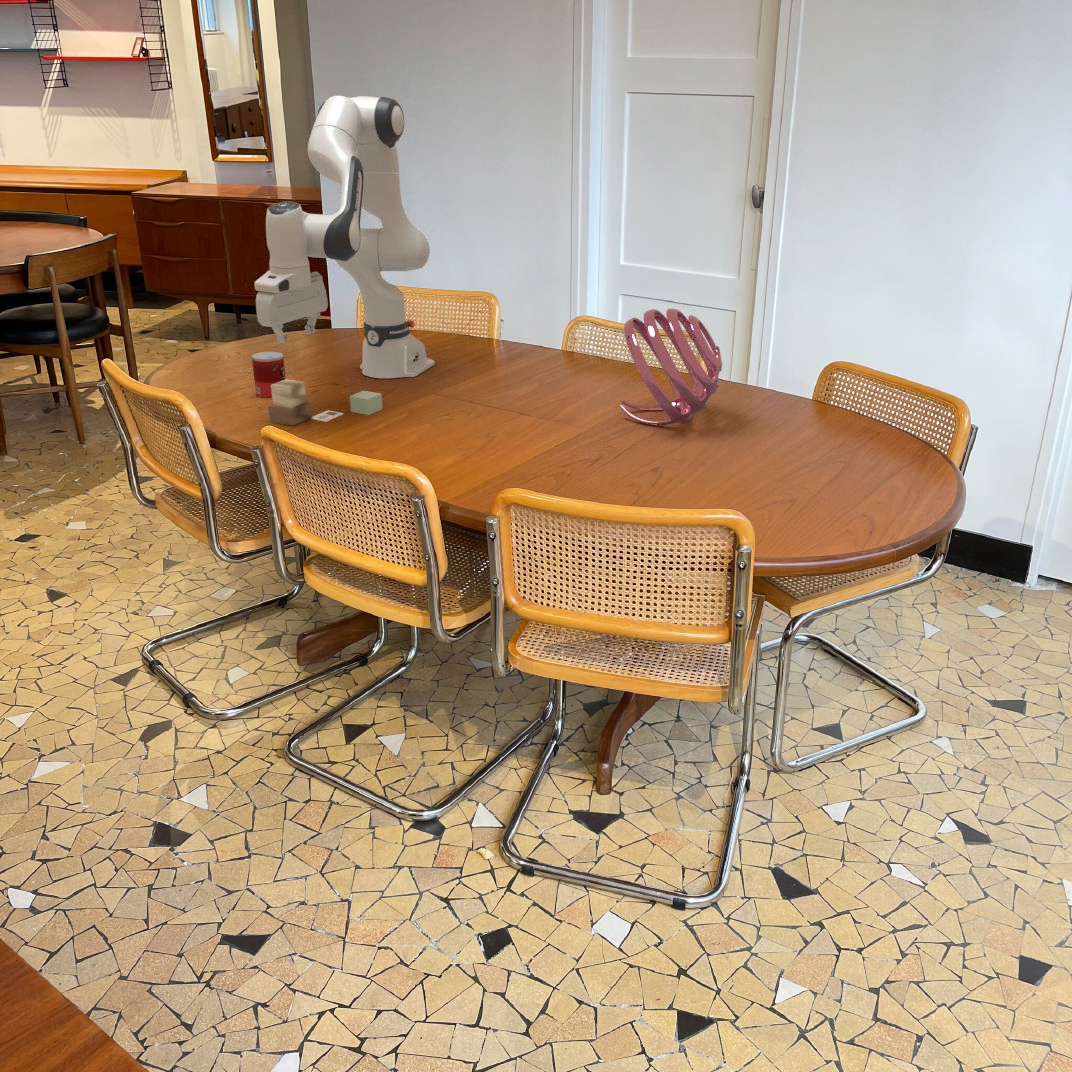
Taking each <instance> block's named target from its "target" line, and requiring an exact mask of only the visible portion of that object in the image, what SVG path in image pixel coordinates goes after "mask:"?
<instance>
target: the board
mask: <svg viewBox="0 0 1072 1072" xmlns="http://www.w3.org/2000/svg"><path fill="white" fill-rule="evenodd" d="M344 415H345V413H343V412H338V411H333V410H330V409H329V410H325V411H322V412H320V413H318V414H315V415H312V418H310V419H309V420H315V421H319V422H325V423H326V422H329V421H331V420H333V419H336V418H338V417H341V416H344Z"/></svg>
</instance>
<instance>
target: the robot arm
mask: <svg viewBox="0 0 1072 1072" xmlns="http://www.w3.org/2000/svg"><path fill="white" fill-rule="evenodd" d="M404 128H405V115H404V110H403V108H402V107H401V105H400V103H399V102H398V101H397V100H396V99H394V98H390V97H386V96H381V97H378V96H377V97H376V96H365V95H364V96H363V95H358V96H355V97H354V96H353V97H347V96H345V95H333V96H330V97H328V98H327V99H326V100H325V101H324V102H322V104H321V105H320V107H319V108H318V110H317V115H316V119H315V121H314V123H313V126H312V128H311V132H310V136H309V139H308V143H307V156H308V159H309V161H310V163H311V164H312V166H313V167H314V169H315V170H316V171H317V172H318V173H319V174H321V175H322V176H323V177H325V178H326V179H329V180H332V181H333V182H335V183H338V184H340V185H341V189H340V190H341V191H340V198H339V210H338V211H336V212H335V213H332V214H321V213H308V212H306V211H304V210H303V208H302V206H301V204H300V203H298V202H295V201H288V200H286V201H279V202H275V203H273V204H271V205H270V206H268V207H267V209H266V216H265V234H266V235H265V237H266V246H267V249H268V251H269V257H270V258H269V263H268V264H269V270H267V271H266V272H265V273H264V274H263V275H261V276H260V277H259V278H258V279H256V280H255V281H254V285H253V286H254V290H255V291H258V292H257V294H256V297H255V311H256V317H257V322H258V323H259V324H260V325H261V326H263V327H269V328H271V329H272V330H273V332H274V334H275V335H276V340H277V341H276V342H278V343H279V344H284V343H287V342H288V334H286V333H284V331H283V328H284V324H286V323H289V322H293V321H297V320H299V319H304V318H307V322H306V325H304V332H305V334H307V335H312V334H315V332H316V330H315V329H316V328H315V326H316V323H317V321H318V314H319V313H322V312H326V311H327V309H328V306H329V302H328V296H327V290H326V287H325V283H324V280H323V275H321V273H319V272H318V271H313V272H311V269H310V266H311V265H310V261H309V258H310V257H311V258H320V259H322V258H323V259H330V260H335V262H336V264H338V266H339V267H340V268H342V270H344V271H346V272H347V273H348V274H349V276H351V277H352V279H353V280H354V282H355V283H356V284H357V286H358V288H359V291H360V294H361V299H362V304H363V314H364V322H363V328H362V329H363V335H364V339H363V341H362V363H361V364H360V365H359V368H360V370H361V373H362V375H364V376H367V377H370V378H376V379H398V378H415V377H417V376H418V375H420V374H423V372H425V371H427V370H428V369H429V368H431V367H433V366H434V365H435V360H433V359H431V358H428V357H427V351H426V347H425V344H424V343H423V342H422V341H420V340H419V339H418V338H417V337H415V336H414V335H412V333H411V330H410V328H411V329H413V328H415V327H416V322H415V320H411V319H407V320H406V312H405V311H406V307H405V295H404V293H403V291H402V290H401V289H400V288H399V287H398V286H396V285H394V284H392V283H390V282H388V281H387V280H385V278H383V276H382V273H381V272H409V271H415V270H419V269H423V268H424V266H426V264H427V263H428V261H429V257H430V251H431V249H430V244H429V241H428V239H427V237H426V235H425V234H424V233H423V232H421V231H420V230H419V229H418V228H417V227H416V226H414V224H413V223H412V222H411V221H410V219H409V218H408V216H407V214H406V211H405V209H404V206H403V201H402V196H401V194H402V193H401V183H400V182H401V181H400V179H401V178H400V164H399V163H400V162H399V155H398V149H397V144H396V143H397V142H398V141H399V140H400V138H401V136H402V135H403V133H404ZM362 209H363V210H364V211H365V212H367V213H369V214H371V215H373V216H375V217H377V218H378V219H379V220H380V222H381V224H382V227H381V228H363V227H362V228H361V218H362V217H361V215H362ZM308 257H309V258H308Z"/></svg>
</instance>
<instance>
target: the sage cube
mask: <svg viewBox="0 0 1072 1072" xmlns="http://www.w3.org/2000/svg"><path fill="white" fill-rule="evenodd" d="M349 405H350V413H351V412H352V413H354V414H355V413H356V414H361V415H365V416H370V415H373V414H375V413H378V412H379V411H382V410H383V396H382V393H379V392H373V391H369V390H368V391H367V390H361V391H359V392H357V393H354V394H352V395H349Z"/></svg>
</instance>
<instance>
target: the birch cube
mask: <svg viewBox="0 0 1072 1072" xmlns="http://www.w3.org/2000/svg"><path fill="white" fill-rule="evenodd" d="M271 391H272V398H271V399H272V404H273V405H275V406H281V407H287V408H293V407H295V406H298V405H301V404H303V403H306V402H307V401H308V400H307V394H306V385H305V381H302V380H294V379H287V378H286V380H283V381H280V382H277V383H274V384H271Z"/></svg>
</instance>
